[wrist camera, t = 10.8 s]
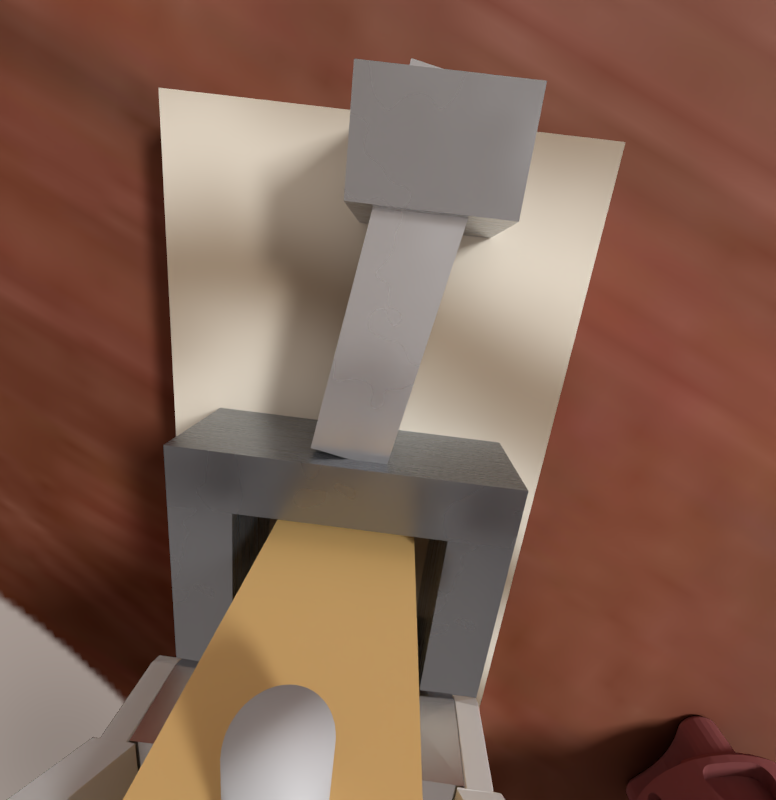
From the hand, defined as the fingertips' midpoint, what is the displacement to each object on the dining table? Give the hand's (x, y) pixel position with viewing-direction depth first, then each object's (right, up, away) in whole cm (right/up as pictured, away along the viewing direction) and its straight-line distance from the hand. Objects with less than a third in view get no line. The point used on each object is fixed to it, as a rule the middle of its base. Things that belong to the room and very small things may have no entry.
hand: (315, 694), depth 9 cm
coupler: (0, +1, +4) cm, 4 cm away
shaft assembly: (0, +2, +5) cm, 5 cm away
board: (0, +2, +6) cm, 7 cm away
